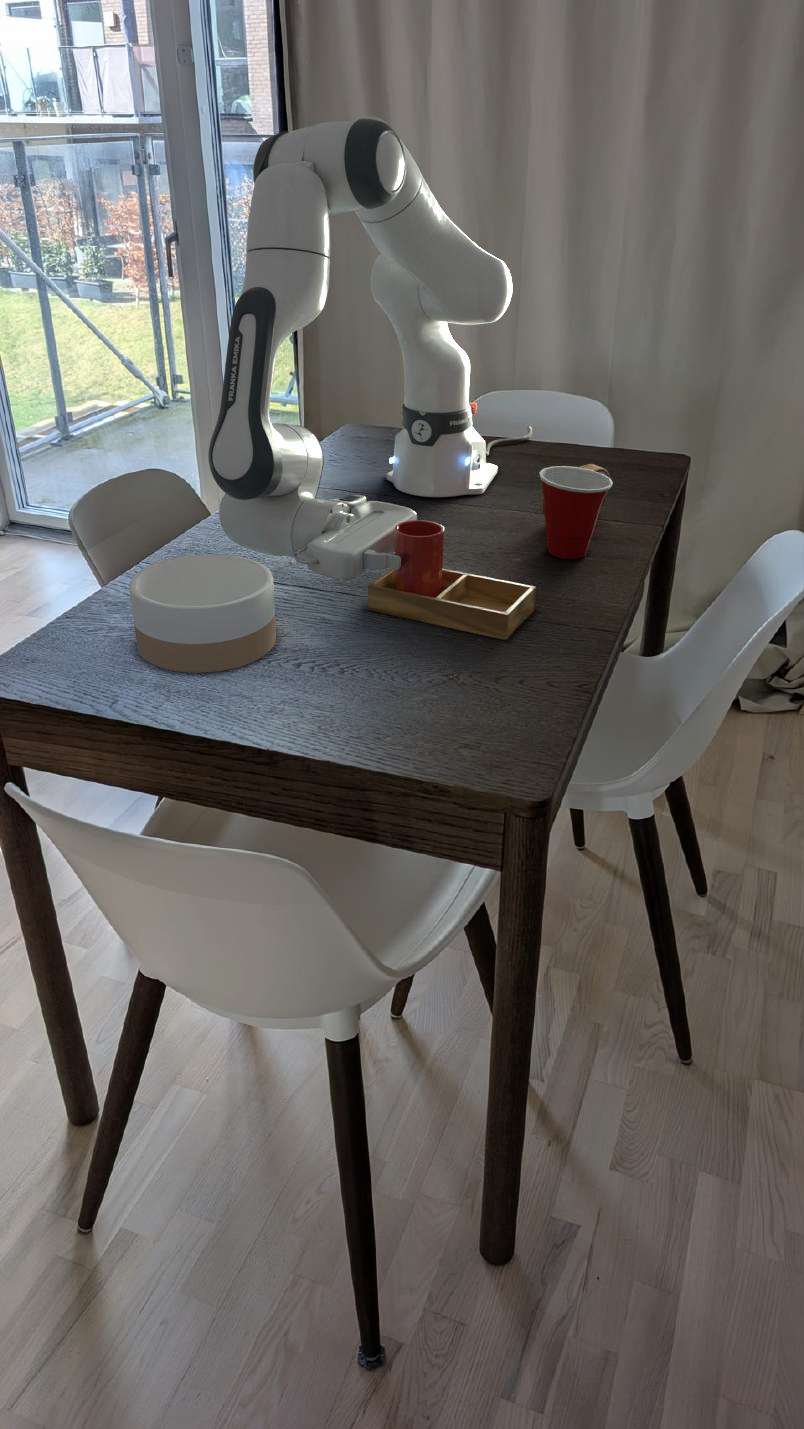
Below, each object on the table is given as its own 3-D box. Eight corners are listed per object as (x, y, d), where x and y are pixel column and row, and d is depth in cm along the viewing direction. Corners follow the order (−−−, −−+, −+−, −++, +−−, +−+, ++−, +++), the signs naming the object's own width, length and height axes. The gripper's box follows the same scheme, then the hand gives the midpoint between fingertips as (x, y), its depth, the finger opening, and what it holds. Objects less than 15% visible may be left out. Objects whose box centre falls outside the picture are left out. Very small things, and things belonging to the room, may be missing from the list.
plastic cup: (603, 568, 152) (612, 488, 146) (529, 562, 153) (536, 483, 147) (606, 543, 161) (614, 467, 155) (536, 537, 163) (542, 462, 157)
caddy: (402, 583, 146) (402, 560, 144) (534, 610, 138) (536, 586, 137) (367, 610, 138) (367, 585, 136) (505, 640, 130) (507, 614, 129)
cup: (407, 586, 143) (408, 517, 138) (449, 595, 141) (451, 525, 136) (386, 603, 138) (386, 531, 133) (429, 612, 136) (431, 540, 131)
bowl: (155, 611, 137) (148, 551, 133) (284, 614, 136) (281, 554, 132) (120, 671, 122) (111, 606, 118) (265, 675, 121) (261, 610, 117)
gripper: (285, 534, 132) (381, 553, 127) (361, 490, 148) (450, 505, 143) (287, 580, 135) (381, 600, 130) (362, 532, 151) (448, 548, 146)
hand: (417, 550), depth 136 cm, fingers open, 8 cm apart
